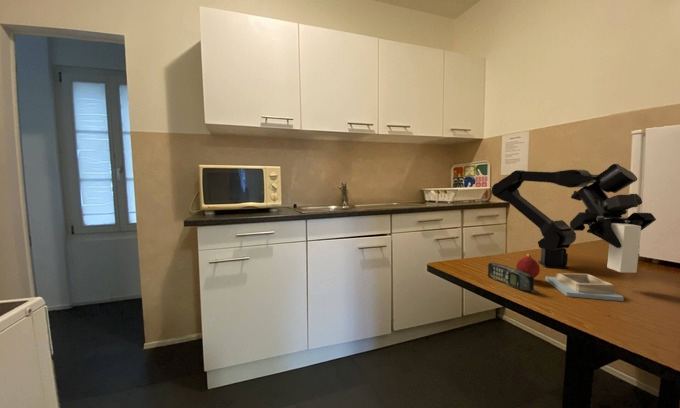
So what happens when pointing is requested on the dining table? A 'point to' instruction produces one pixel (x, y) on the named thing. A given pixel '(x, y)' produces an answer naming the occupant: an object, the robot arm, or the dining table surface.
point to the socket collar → (595, 286)
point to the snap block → (625, 248)
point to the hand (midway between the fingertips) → (628, 247)
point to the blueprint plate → (574, 293)
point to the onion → (528, 266)
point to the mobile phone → (511, 277)
